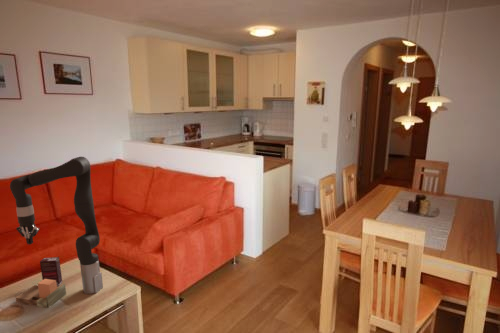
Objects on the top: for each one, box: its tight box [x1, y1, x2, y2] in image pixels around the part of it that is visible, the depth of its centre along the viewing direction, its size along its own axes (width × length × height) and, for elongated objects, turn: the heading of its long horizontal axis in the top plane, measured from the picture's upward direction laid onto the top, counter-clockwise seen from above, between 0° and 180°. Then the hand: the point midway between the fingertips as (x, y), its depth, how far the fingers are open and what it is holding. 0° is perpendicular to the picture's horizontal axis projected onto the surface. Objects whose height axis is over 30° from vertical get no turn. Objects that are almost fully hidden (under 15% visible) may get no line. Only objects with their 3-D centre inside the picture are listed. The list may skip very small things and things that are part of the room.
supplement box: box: [39, 256, 63, 287], centre depth 185 cm, size 9×5×16 cm, turn 99°
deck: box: [15, 283, 67, 308], centre depth 173 cm, size 20×12×6 cm, turn 78°
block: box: [37, 279, 58, 298], centre depth 170 cm, size 7×4×8 cm, turn 78°
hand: (30, 243), depth 175 cm, fingers closed
